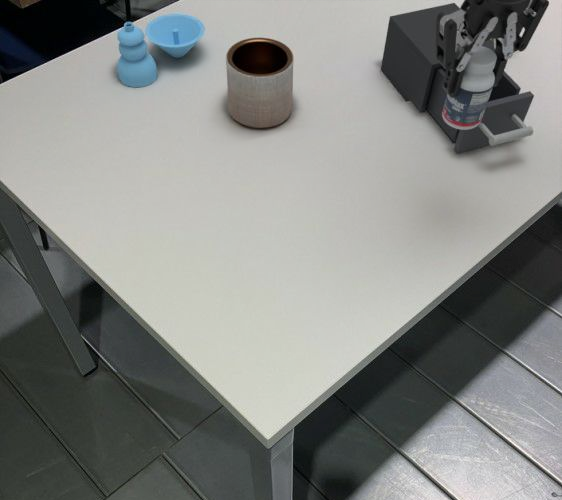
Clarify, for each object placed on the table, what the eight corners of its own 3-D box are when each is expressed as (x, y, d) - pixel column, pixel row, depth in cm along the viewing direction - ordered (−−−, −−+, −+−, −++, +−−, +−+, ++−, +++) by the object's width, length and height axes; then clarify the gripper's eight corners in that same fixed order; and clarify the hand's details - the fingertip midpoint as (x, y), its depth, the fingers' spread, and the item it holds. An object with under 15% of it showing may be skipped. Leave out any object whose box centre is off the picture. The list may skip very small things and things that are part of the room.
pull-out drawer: (533, 156, 100) (552, 113, 93) (472, 173, 97) (487, 130, 91) (474, 90, 108) (488, 47, 102) (417, 104, 106) (427, 61, 99)
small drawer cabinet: (482, 102, 108) (500, 48, 100) (419, 117, 106) (432, 64, 97) (441, 55, 115) (454, 2, 107) (380, 69, 113) (389, 16, 104)
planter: (218, 99, 107) (215, 45, 99) (276, 84, 110) (277, 30, 101) (242, 137, 102) (241, 83, 94) (302, 121, 104) (305, 67, 96)
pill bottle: (434, 111, 84) (450, 47, 76) (467, 102, 85) (486, 38, 77) (454, 135, 81) (473, 71, 74) (488, 125, 82) (510, 62, 75)
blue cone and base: (180, 30, 117) (174, -20, 110) (218, 54, 114) (215, 3, 106) (104, 70, 110) (92, 19, 103) (142, 97, 107) (133, 46, 99)
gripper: (474, -29, 61) (436, 119, 76) (593, -56, 64) (534, 92, 79) (436, -64, 65) (406, 84, 79) (550, -88, 68) (501, 60, 82)
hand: (470, 87), depth 79 cm, fingers closed on pill bottle, 5 cm apart
